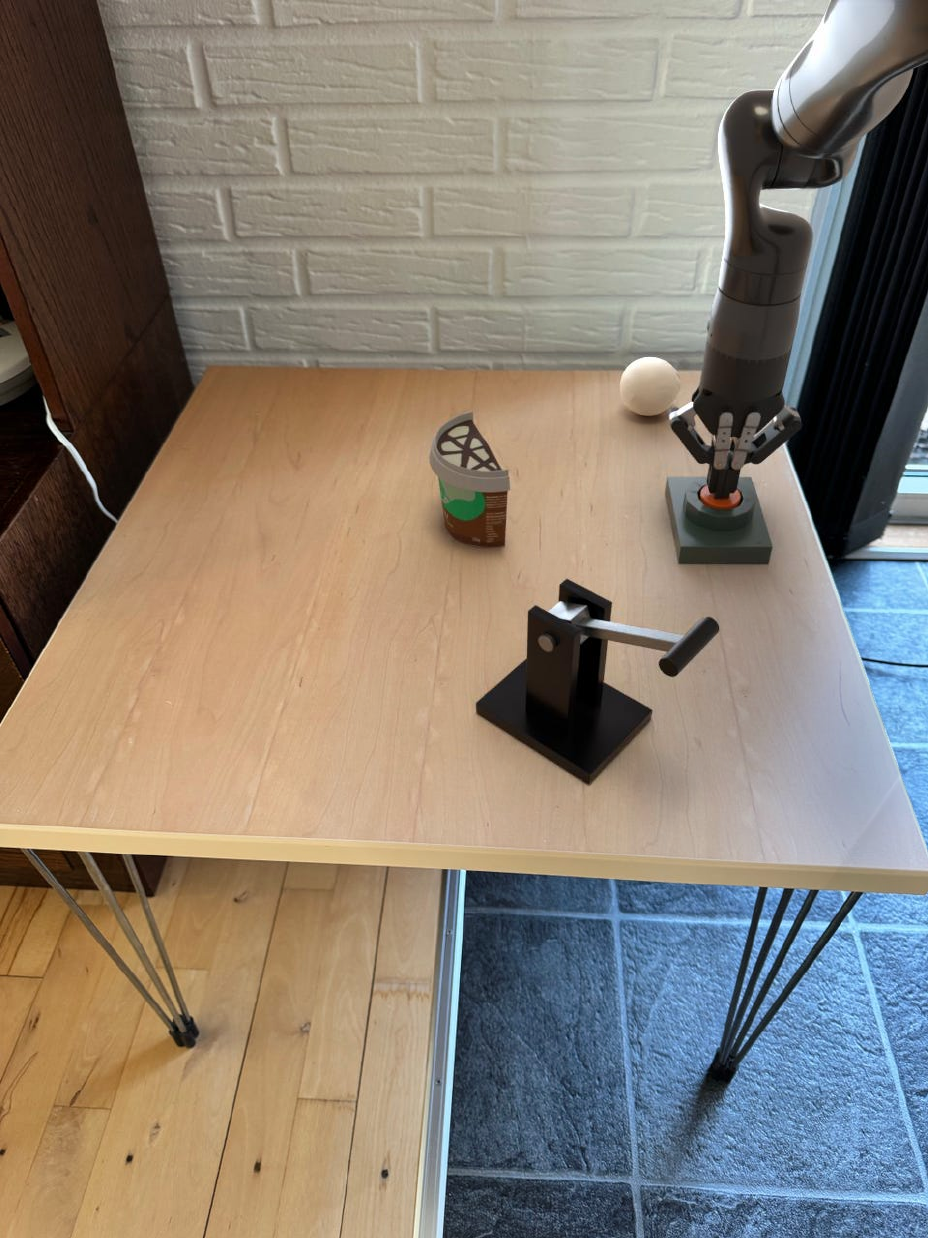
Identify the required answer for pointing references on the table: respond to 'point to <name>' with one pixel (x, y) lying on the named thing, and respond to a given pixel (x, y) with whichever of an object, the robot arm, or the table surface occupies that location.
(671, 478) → the button box
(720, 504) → the button
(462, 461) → the food container
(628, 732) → the bracket
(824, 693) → the table surface
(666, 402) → the cream ball
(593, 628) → the lever
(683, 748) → the table surface
